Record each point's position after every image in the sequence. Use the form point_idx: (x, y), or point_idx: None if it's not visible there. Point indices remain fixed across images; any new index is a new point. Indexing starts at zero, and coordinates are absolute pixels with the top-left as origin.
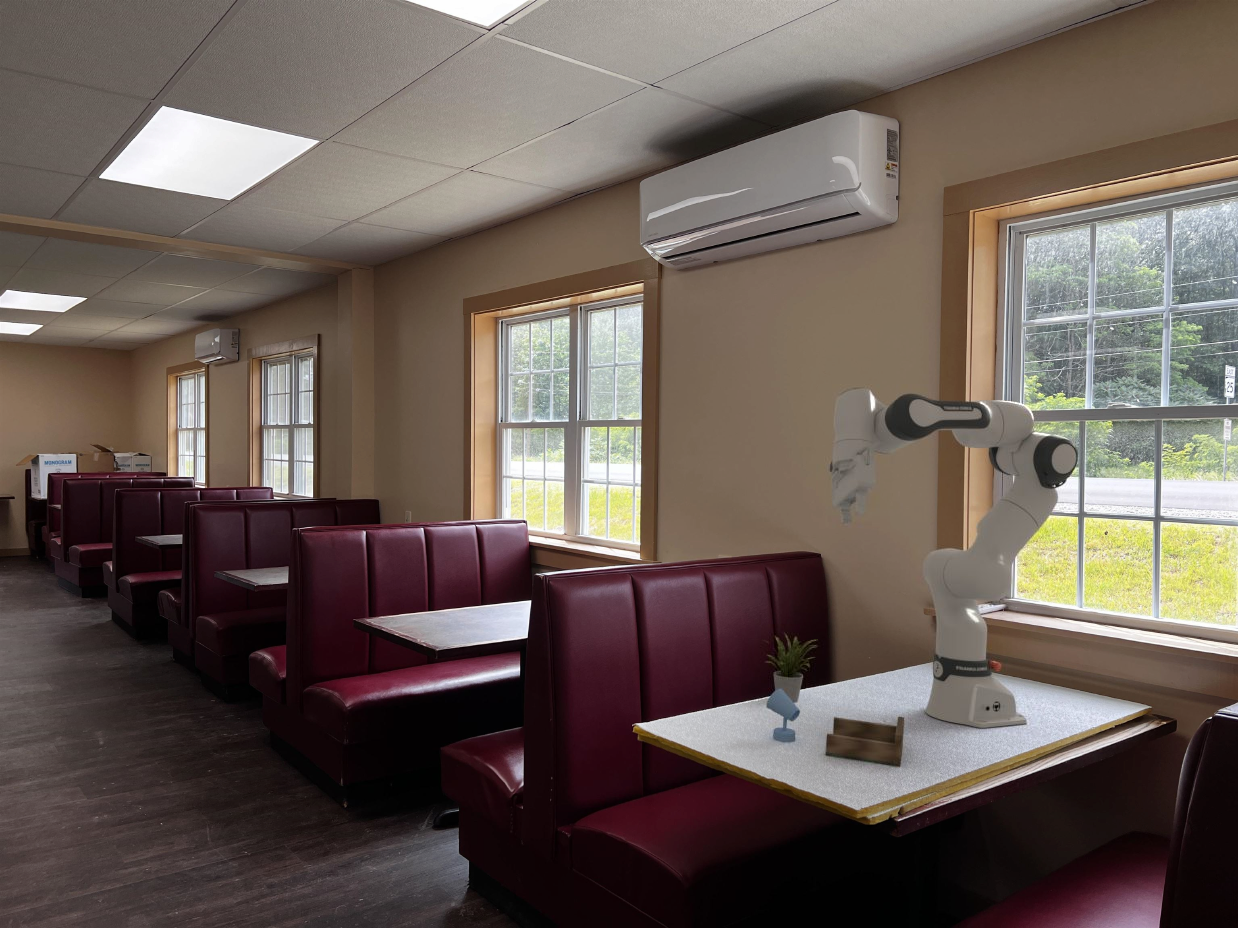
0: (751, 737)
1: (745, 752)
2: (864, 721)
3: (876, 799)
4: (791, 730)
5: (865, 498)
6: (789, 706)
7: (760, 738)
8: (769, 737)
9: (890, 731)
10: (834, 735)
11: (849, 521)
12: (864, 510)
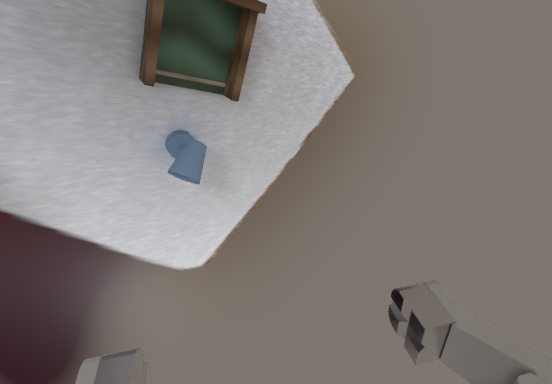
0: None
1: (241, 175)
2: (150, 35)
3: (336, 55)
4: (178, 138)
5: (533, 356)
6: (203, 155)
7: None
8: None
9: None
10: (237, 91)
11: (141, 364)
12: (445, 291)
